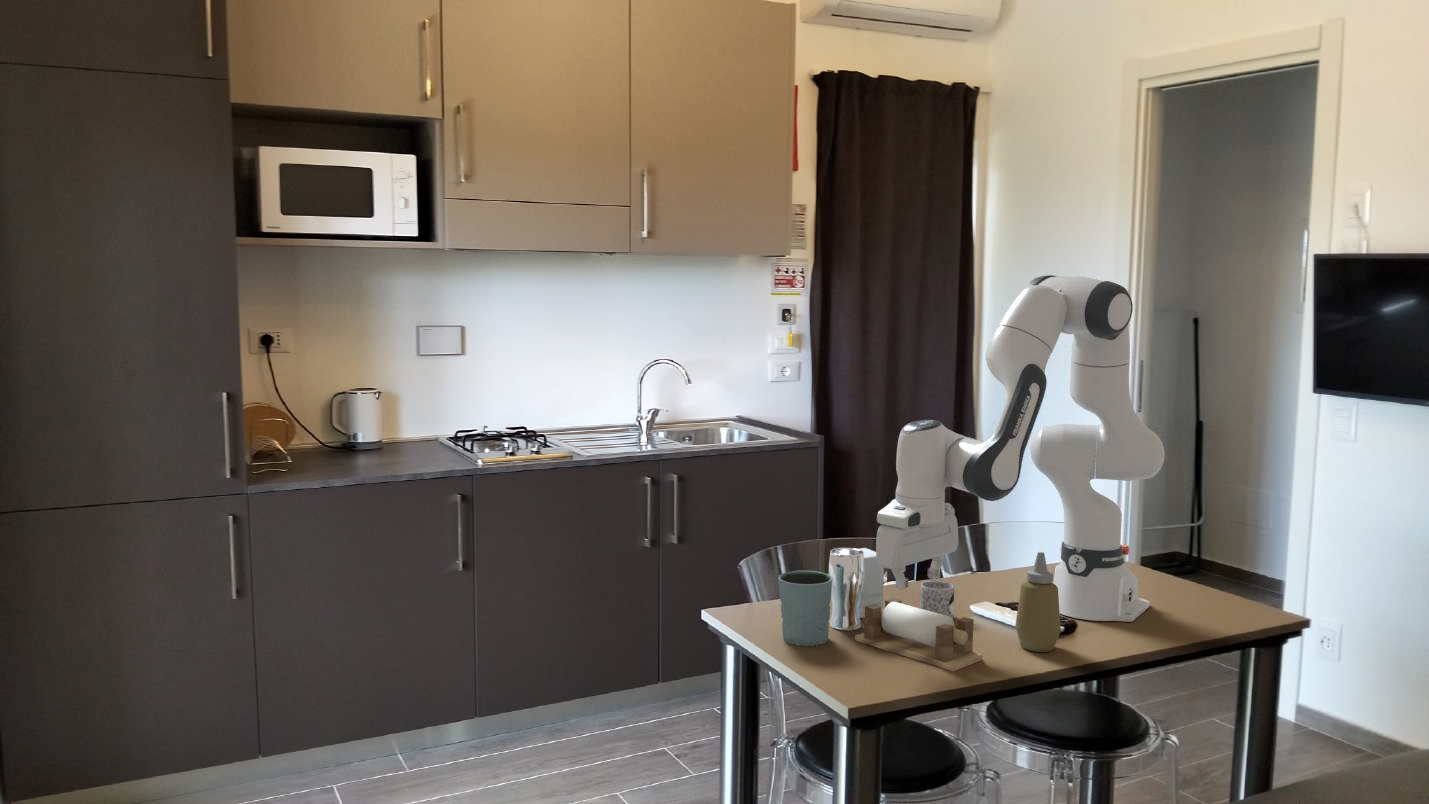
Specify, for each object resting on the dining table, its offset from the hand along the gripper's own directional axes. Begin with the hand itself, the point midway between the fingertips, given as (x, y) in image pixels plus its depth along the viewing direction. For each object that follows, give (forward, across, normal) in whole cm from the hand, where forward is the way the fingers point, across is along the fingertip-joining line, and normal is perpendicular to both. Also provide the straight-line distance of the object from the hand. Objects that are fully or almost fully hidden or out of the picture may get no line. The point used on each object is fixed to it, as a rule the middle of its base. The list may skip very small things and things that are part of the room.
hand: (918, 583), depth 194 cm
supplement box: (+13, -9, -21) cm, 26 cm away
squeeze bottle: (+13, -17, +14) cm, 26 cm away
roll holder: (+12, +1, +1) cm, 12 cm away
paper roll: (+11, +1, +1) cm, 11 cm away
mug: (+13, -20, -10) cm, 26 cm away
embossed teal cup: (+12, +12, -17) cm, 24 cm away
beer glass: (+13, 0, -17) cm, 21 cm away
